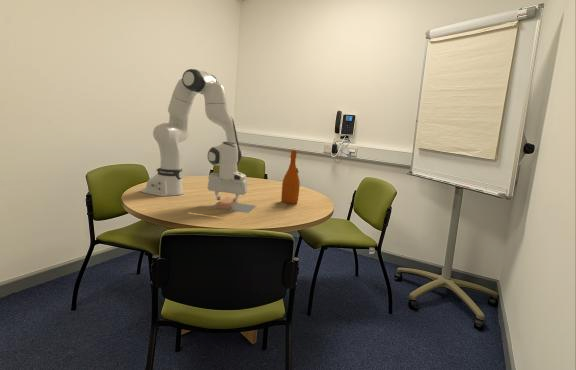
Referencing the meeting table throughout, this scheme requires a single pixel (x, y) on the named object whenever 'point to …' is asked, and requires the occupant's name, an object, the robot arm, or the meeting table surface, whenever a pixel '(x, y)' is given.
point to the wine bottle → (291, 182)
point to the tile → (226, 203)
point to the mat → (239, 207)
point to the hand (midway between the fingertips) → (226, 201)
